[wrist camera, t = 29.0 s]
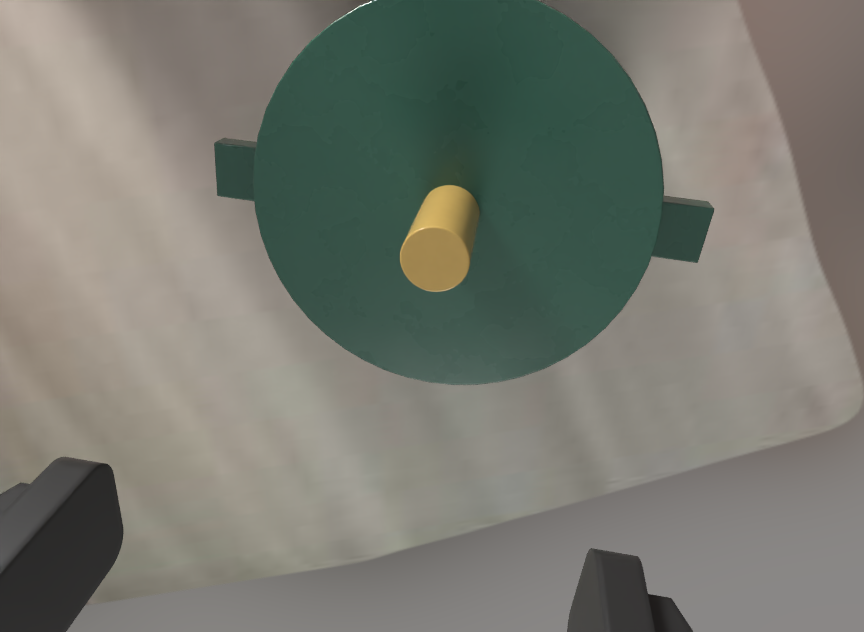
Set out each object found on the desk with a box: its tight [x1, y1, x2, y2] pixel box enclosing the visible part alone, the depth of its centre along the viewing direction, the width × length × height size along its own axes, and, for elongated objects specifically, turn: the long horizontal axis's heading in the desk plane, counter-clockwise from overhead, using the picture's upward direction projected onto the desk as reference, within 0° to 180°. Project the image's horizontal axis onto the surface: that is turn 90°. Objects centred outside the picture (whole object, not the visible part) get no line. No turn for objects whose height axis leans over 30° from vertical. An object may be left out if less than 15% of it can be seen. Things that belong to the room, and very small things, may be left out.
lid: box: [253, 0, 664, 385], centre depth 24 cm, size 17×17×6 cm
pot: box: [214, 138, 714, 263], centre depth 31 cm, size 16×21×10 cm
